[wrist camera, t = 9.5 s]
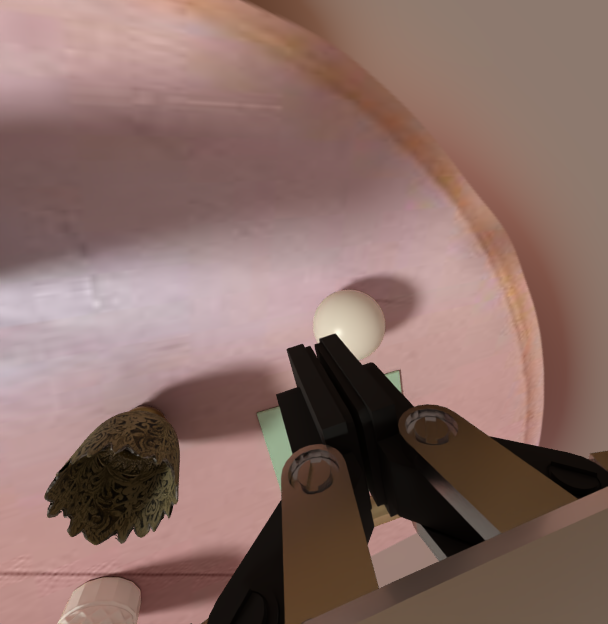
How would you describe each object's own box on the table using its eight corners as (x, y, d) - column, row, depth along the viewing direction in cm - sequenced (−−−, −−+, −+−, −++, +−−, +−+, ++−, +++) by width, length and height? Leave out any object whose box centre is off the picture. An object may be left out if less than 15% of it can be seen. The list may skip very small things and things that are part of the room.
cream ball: (364, 383, 23) (321, 369, 27) (411, 335, 25) (363, 329, 30) (327, 319, 21) (288, 315, 26) (381, 273, 23) (335, 278, 28)
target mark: (256, 412, 29) (256, 414, 29) (398, 370, 31) (399, 371, 31) (289, 517, 34) (289, 518, 34) (409, 475, 36) (410, 476, 36)
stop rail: (300, 520, 35) (305, 543, 33) (402, 485, 36) (413, 504, 34) (302, 528, 35) (307, 551, 33) (402, 492, 37) (414, 512, 35)
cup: (206, 434, 29) (197, 514, 22) (128, 468, 29) (92, 562, 21) (165, 368, 26) (139, 434, 19) (77, 405, 26) (15, 488, 18)
